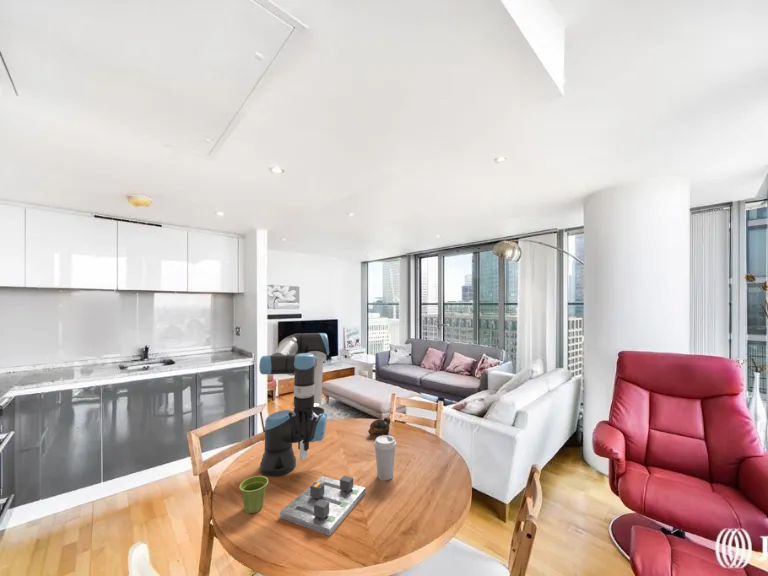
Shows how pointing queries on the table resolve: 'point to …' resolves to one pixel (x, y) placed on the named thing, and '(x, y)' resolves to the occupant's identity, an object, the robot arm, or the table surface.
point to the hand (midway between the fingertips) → (303, 458)
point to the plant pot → (253, 493)
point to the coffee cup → (385, 456)
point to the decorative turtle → (380, 426)
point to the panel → (338, 506)
